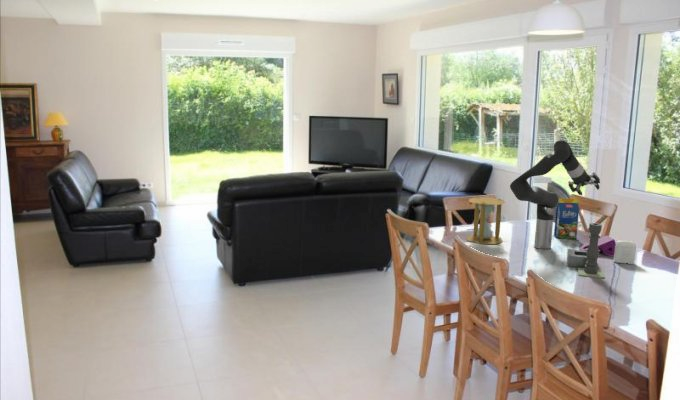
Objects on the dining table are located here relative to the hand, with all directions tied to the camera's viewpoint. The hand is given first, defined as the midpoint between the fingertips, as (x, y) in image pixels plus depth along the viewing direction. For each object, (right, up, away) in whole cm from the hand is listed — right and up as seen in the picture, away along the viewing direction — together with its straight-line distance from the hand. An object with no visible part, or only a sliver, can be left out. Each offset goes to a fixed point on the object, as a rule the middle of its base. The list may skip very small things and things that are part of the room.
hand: (589, 191), depth 300 cm
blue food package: (+14, -28, +69) cm, 76 cm away
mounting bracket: (+19, -35, +35) cm, 53 cm away
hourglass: (-39, -29, +60) cm, 78 cm away
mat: (-1, -42, -4) cm, 42 cm away
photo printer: (+25, -39, +16) cm, 49 cm away
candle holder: (-1, -41, -4) cm, 41 cm away
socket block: (0, -39, +12) cm, 41 cm away
